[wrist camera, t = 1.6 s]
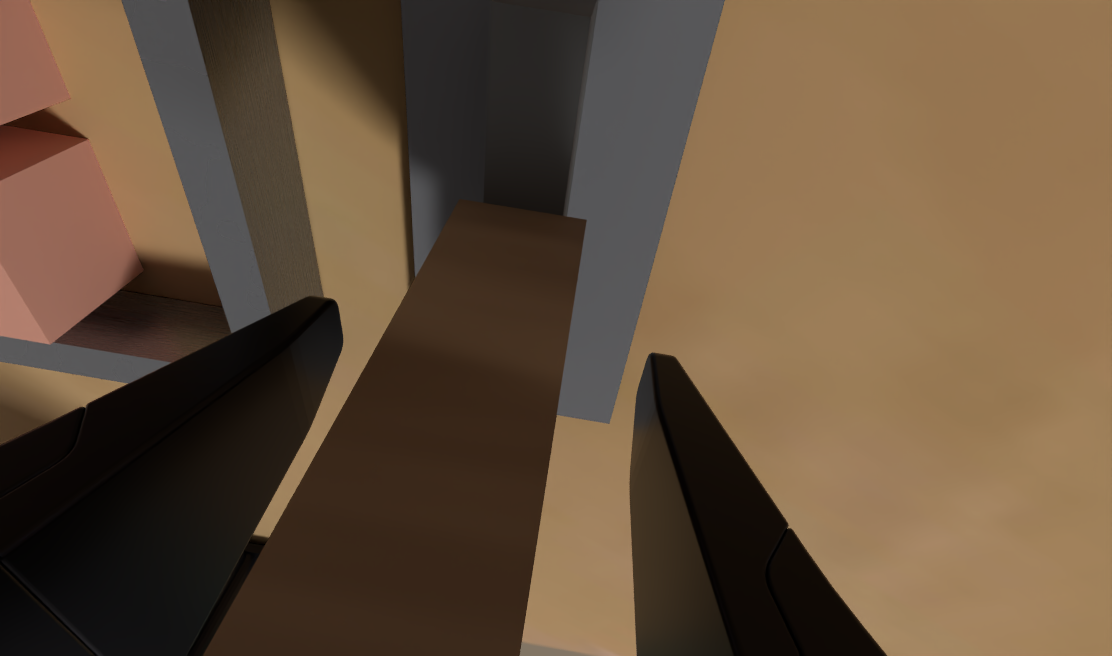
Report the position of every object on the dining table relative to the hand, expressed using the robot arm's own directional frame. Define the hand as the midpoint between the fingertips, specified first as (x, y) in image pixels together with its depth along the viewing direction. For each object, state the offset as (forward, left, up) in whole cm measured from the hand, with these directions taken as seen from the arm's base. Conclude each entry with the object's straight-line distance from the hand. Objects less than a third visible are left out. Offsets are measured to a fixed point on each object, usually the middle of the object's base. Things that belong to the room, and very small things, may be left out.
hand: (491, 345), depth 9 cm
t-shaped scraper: (0, 0, -5) cm, 5 cm away
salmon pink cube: (-2, +13, -6) cm, 15 cm away
